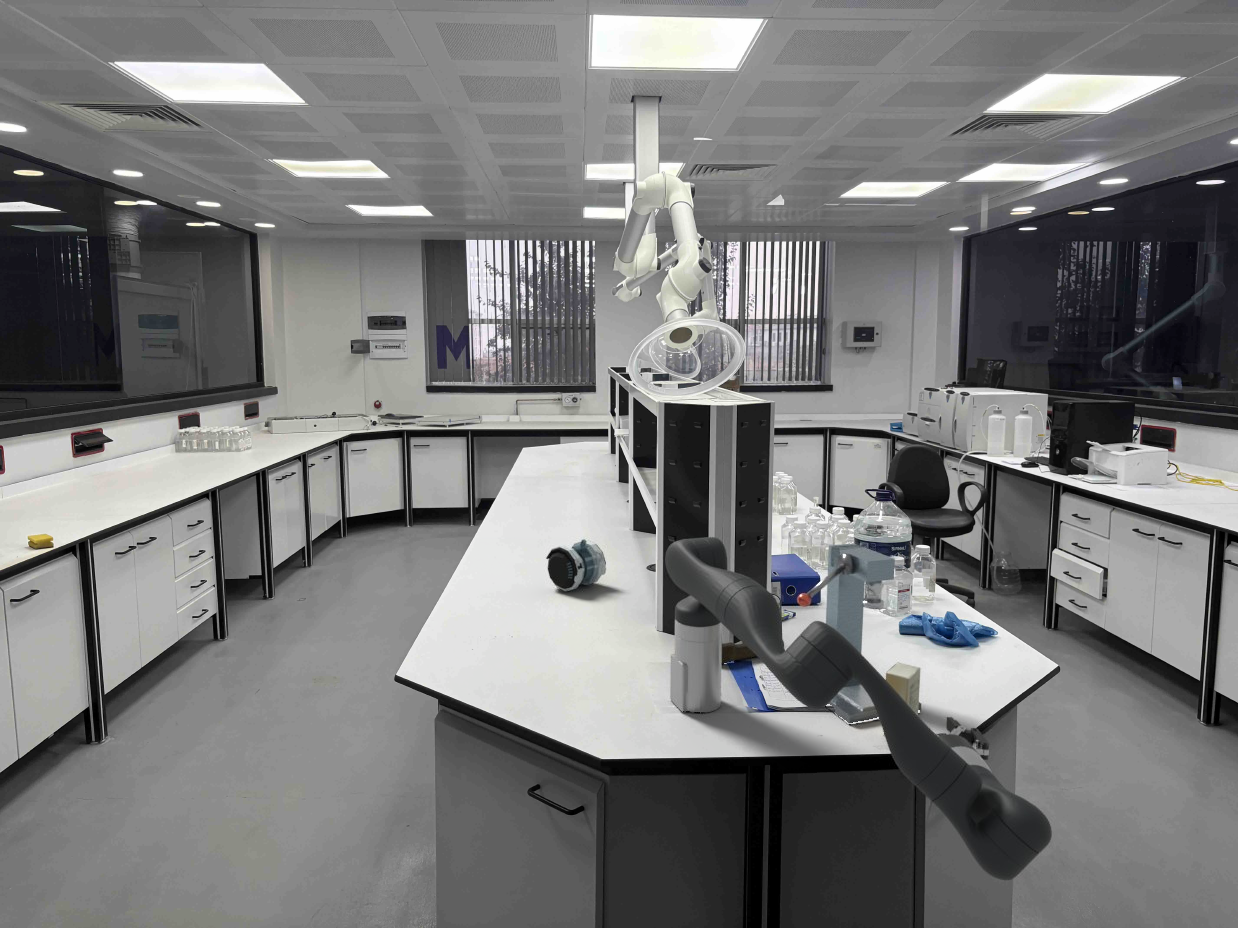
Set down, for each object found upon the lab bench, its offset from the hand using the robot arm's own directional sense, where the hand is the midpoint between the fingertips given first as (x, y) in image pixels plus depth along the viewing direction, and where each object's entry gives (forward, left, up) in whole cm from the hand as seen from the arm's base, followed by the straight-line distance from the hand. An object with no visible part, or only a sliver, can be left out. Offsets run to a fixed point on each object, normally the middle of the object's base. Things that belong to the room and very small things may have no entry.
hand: (923, 721), depth 136 cm
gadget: (-30, +115, -7) cm, 119 cm away
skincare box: (+2, +9, -7) cm, 11 cm away
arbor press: (0, +23, -6) cm, 24 cm away
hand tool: (-7, +49, -7) cm, 50 cm away
